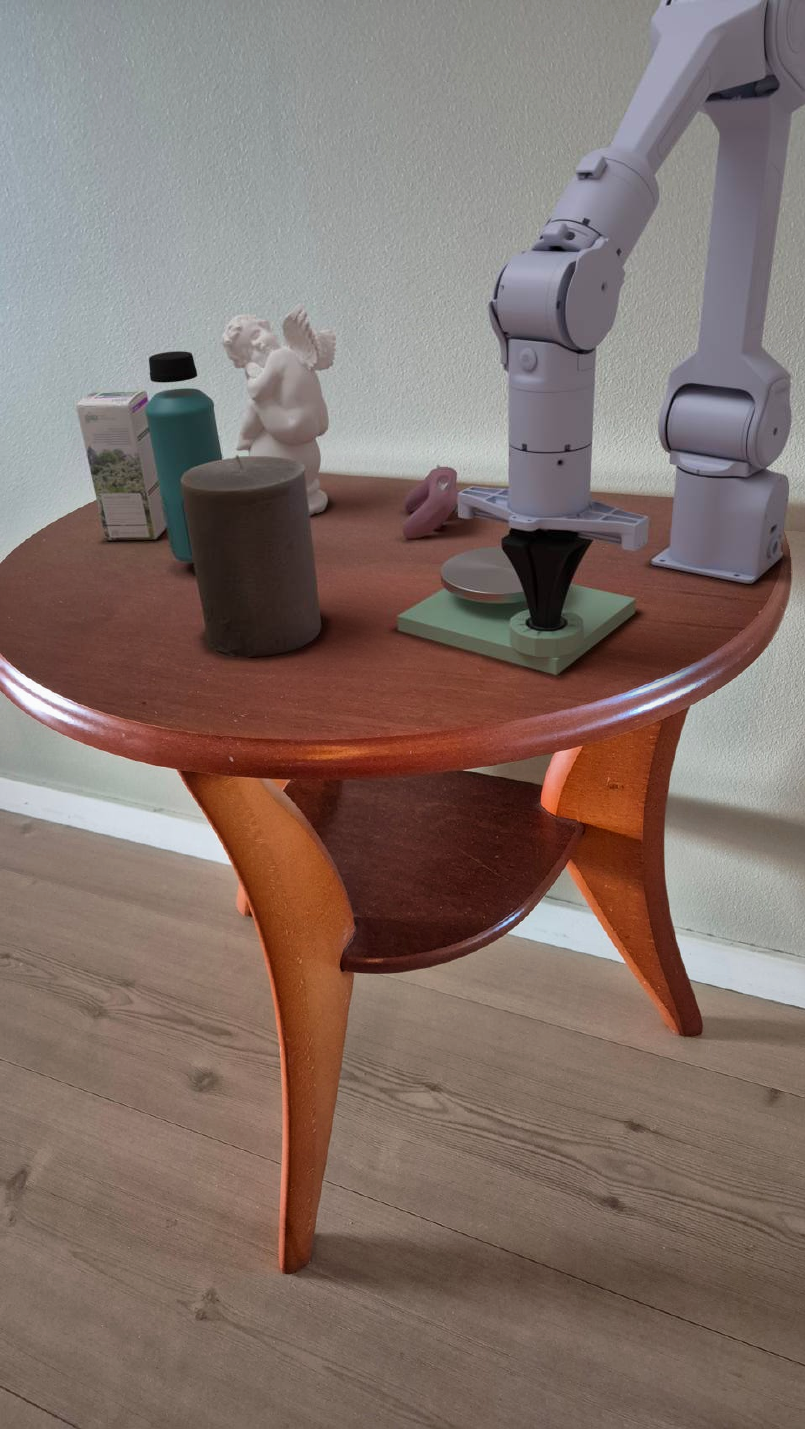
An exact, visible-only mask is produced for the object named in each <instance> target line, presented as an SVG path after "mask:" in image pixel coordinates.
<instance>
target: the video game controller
mask: <svg viewBox="0 0 805 1429" xmlns="http://www.w3.org/2000/svg"><path fill="white" fill-rule="evenodd" d="M457 480H458V472H457V470H455V469H454V468H452V467H451V466H440V464H437V465H436V468H433V469H431V470H430V471H429V473H428V474H427V476H426V477H424V479H423V480H422V481H421V482H420V483H419V484H417V485H416V486H415V487H413V488H412V489H411V490H410V491H408V493H407V494H406V496H405V498H404V500H403V507H404V509H405V511H407V512H408V513H411V514H410V515H409V516H408V517H407V518H406V519H405V521H404V523H403V525H402V529H401V530H402V534H403V535H404V537H405V538H406V539H409V540H416V539H419V538H423V537H426V536H427V535H429V534H430V533H432V532H433V531H435V530H436V531H439V530H440V528H441V527H442V526H443V523H444V522H446V521H447V520H448V519H449V517H450V516H451V513H452V512H453V514H454V515H455V514H456V513H458V502H457V500H458V493H459V490H458V488H456V487H457Z"/></svg>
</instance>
